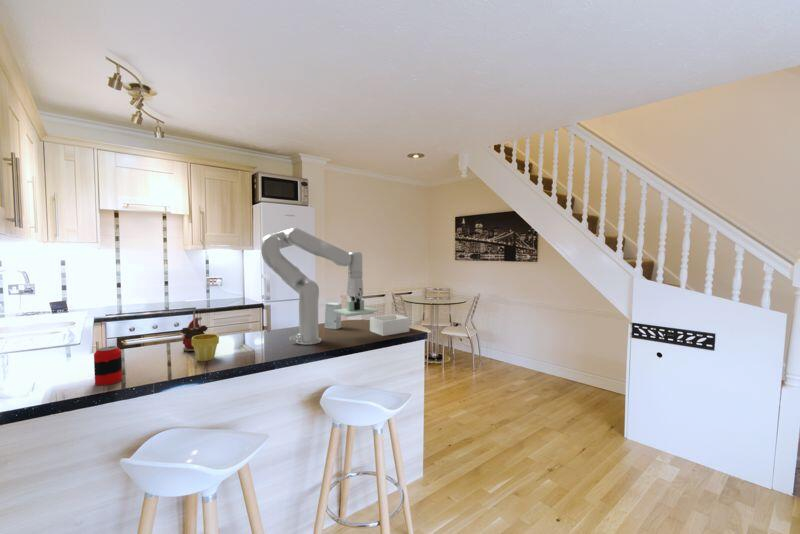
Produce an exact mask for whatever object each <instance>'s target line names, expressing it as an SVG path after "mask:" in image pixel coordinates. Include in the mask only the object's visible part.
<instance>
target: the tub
mask: <svg viewBox="0 0 800 534" xmlns="http://www.w3.org/2000/svg"><path fill="white" fill-rule="evenodd" d="M369 332H372V333H373V334H377V335H380V336H382V337H384V336H390V335H397V334H402V333H403V334H404V333H410V317H408V316H405V315H400V314H396V313H395V314H394V313H393V314H386V315H378V316H377V315H376V316H370V317H369Z"/></svg>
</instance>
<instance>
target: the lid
mask: <svg viewBox="0 0 800 534" xmlns="http://www.w3.org/2000/svg"><path fill="white" fill-rule="evenodd" d="M354 302H355V300H354V301H351V300H347V301H346V308H342V309H337V310H334V312H337V313H338V314H341V316H344V317H347V318H349V317H357V316H363V315H364V316H365V315H371V314H375V313H378V309H374V308H372V307H371V308H370V307H367V306H365V300H364V299H361V300H360V309H359V310H354Z"/></svg>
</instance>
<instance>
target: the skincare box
mask: <svg viewBox="0 0 800 534" xmlns="http://www.w3.org/2000/svg"><path fill="white" fill-rule="evenodd" d="M342 306H343V305H342V303H340V302H339V303H338V302H326V303H325V309H324V329H327V330H328V329H329V330H338V329H340V328H342V315H341V314H338V313H337V312H334V310H337V309H343V307H342Z"/></svg>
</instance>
